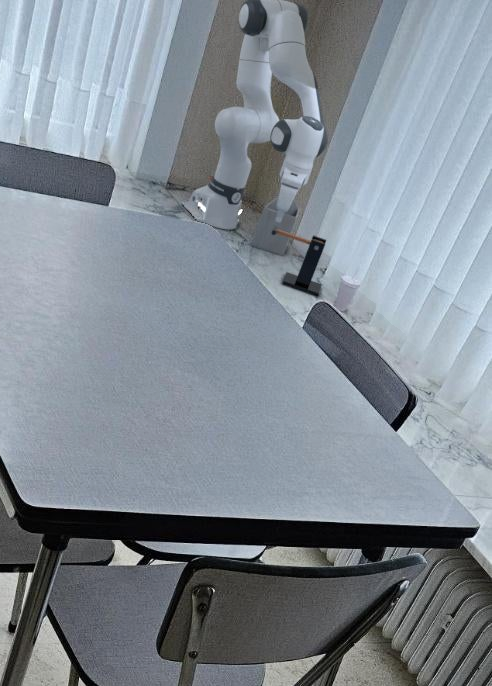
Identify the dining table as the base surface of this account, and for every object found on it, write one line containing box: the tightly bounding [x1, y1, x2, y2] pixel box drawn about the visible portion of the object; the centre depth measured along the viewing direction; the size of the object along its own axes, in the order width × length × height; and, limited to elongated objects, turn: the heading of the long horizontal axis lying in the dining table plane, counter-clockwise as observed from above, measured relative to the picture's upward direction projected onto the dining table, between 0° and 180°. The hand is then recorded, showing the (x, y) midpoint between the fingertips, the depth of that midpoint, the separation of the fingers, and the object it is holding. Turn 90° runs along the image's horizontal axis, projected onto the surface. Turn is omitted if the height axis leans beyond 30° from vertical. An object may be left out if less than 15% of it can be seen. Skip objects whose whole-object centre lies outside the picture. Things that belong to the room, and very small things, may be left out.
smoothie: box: [333, 267, 362, 312], centre depth 310 cm, size 6×6×14 cm
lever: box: [271, 226, 323, 246], centre depth 314 cm, size 16×5×2 cm, turn 76°
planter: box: [250, 196, 301, 256], centre depth 337 cm, size 16×8×19 cm, turn 123°
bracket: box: [281, 235, 327, 298], centre depth 317 cm, size 12×9×16 cm
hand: (279, 217), depth 312 cm, fingers open, 8 cm apart
